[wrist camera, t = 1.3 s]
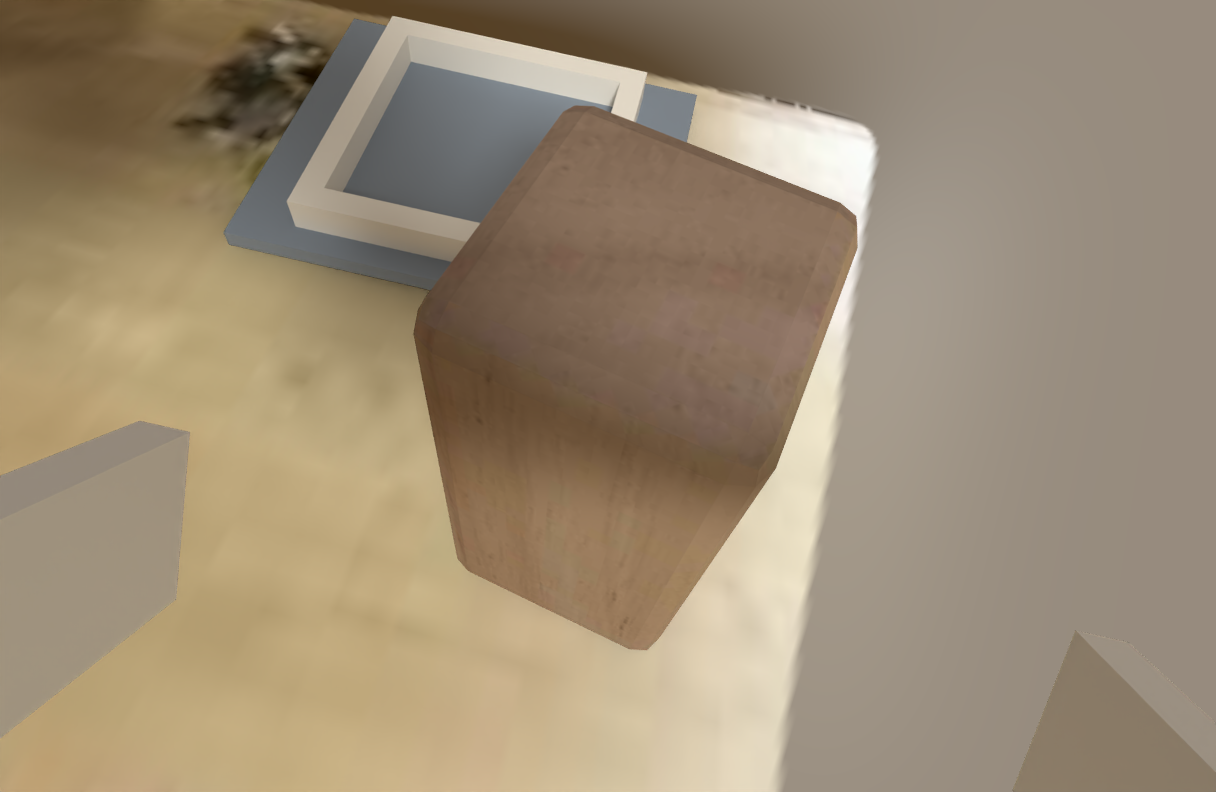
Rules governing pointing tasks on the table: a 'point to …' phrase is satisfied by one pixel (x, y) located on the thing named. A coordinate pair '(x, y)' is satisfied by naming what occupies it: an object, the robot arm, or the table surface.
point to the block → (623, 365)
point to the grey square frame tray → (422, 145)
